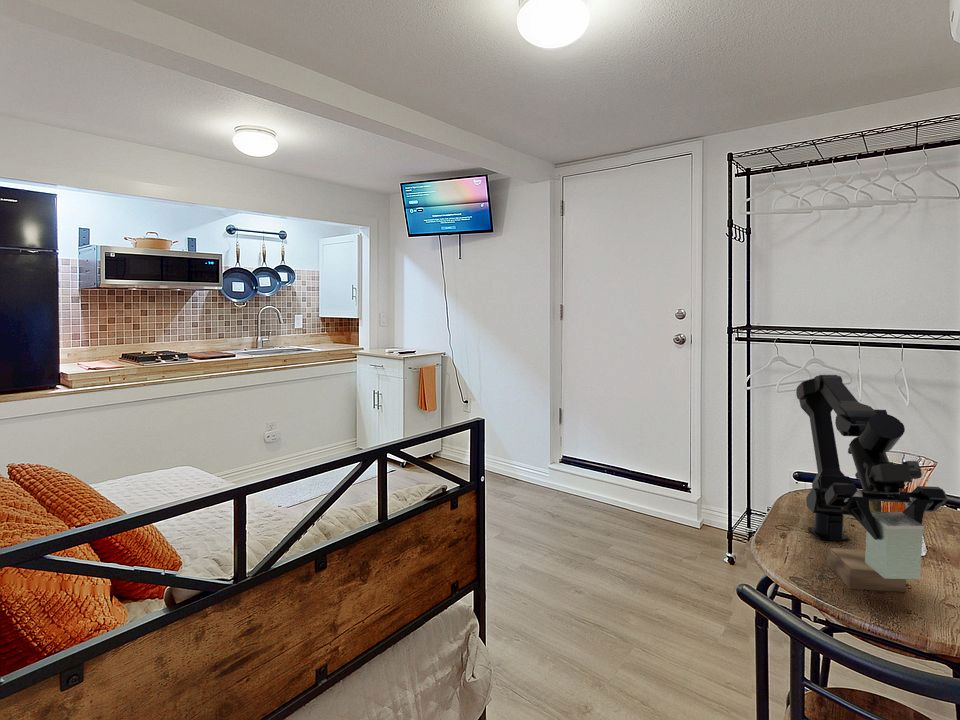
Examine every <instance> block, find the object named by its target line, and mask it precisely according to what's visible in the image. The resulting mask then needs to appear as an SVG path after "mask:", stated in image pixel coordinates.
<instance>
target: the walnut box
mask: <svg viewBox="0 0 960 720" xmlns="http://www.w3.org/2000/svg"><path fill="white" fill-rule="evenodd" d="M865 551H866V549H855V548H835V547H832V548H831V547H830V548H829V547H827V549H826V565H827V567H828V568H829V569H830V570H832V572H833V571H834V572H835V573H836V574H837V575H838V576H839V577H840V578H841V579H842V580H843V581H842V580H841V579H840V578H839V577H838V576H837V575H836V574H835V573H834V572H833V573H834V574H835V575H836V576H837V577H838V578H839V579H840V580H841V581H842V582H843V583H844V584H845V586H846V587H847V586H848V587H849V588H851V590H864V589H866V590H865V591H867V590H869V591H885V592H887V591H888V592H898V593H899V592H901V593H906V587H907V579H887V578H883V577H882V576H881V575H880V574H879V573H877V572H876V571H875V570H874V569H872V568H871V567H870V566H869V565H868V564H866V563H865ZM848 587H847V588H848ZM849 588H848V589H849Z"/></svg>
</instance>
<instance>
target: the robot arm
mask: <svg viewBox="0 0 960 720" xmlns="http://www.w3.org/2000/svg"><path fill="white" fill-rule="evenodd" d="M795 393H796V394H795V395H796V397H797V400H798V401H799V405H800V408H801V409H802V410H803V412H804V413H805V414H806V415H807V416H808V418H809V424H810V429H811V435H812V441H813V450H814V456H815V462H816V468H817V469H816V470H817V474H816V475H815V477H814V479H813V481H812V483H811V487H812V488H811V489H810V491H809V492H808V495H806V497H805V502H806V507H807V508H808V509H809V511H810V512H811V513H812V514H814V526H808V527H807V529H808V531H810V532H811V533H812V534H813V535H815V537H817V538H818V539H819V540H820V541H843V542H844V541H850V538H849V537H848V536H847V535H845V534H844V533H843V532H844V530H843V529H844V516H845V515H846V516H852V517H853V518H854V519H855V520H857V522H858V523H859V524H860V525H861V526H862V527H863V528H864V529H865V530H866V531H868V532H869V534H870V535H871V536H872V537H873V538H874V539H875V540H878V539H879V534H878V530H877V527H876V525H875V522H874V519H873V517H872V514H871V511H870V508H869V501H884V502H887V503H903V504H904V506H905V509H904V510H903V511H902V513H903V514H905V515H907V516H908V517H910V518H912V519H913V520H915V521H917V522H918V523H920V524H922V525H923V519H924V518H923V517H924V514H925V512H927V513H930V512H936V511H937V510H939V508H941V507H942V506H944V504H945V503H947V502H948V501H949V498H948V496H947V493H946V491H945V490H944V489H943V488H941V487H939V486H924V485H923V486H922V485H921V486H920V485H918V486H916V487H915V488H914V489H913V490H912V491H911V492H906V491H900V489H902V490H903V489H904V488H905V487H906V483H913V480H918V479H921V478H922V476H923V474H922V473H923V472H922V469H921V466H920V465H919V464H920V463H918V461H917V460H905V461H902V464H901V463H900V464H899V463H894V462H893V461H892V462H890V460H889V458H888V455H887V452H890V451H891V450H892V449H893V447H895V445H896V444H897V442H898V441H899V440H900V439H901V438H902V437H903V435H904V434H905V429H906V428H905V425H904V423H903V422H901V420H900V419H898V418H897V417H895V416H893V415H892V414H889V413H888V411H887V410H886V409H874V408H873V407H871V406H870V405H867V404H864V403H861V402H859V401H858V400H857V399H856V397H855V396H854V395H853V393H852V392H851V391H850V390H849V389H848V387H847V386H846V385H845V384H844V383H843V378H842V376H841V375H837V374H819V375H816V376H814V377H813V378H811V379H807V380H804V381H801V383H799V384H798V385H797V387H796V391H795ZM832 411H833V412H834V413H835V414H836V416H835V420H834V421H835V427H836V428H835V429H836V430H837V431H838V432H839V433H840V435H841V436H842V437H855V438H853V439H852V440H851V441H850V443H849V444H848V446H849V447H848V449H847V453H848V454H849V455H851V456H852V459H853V463H854V467H855V469H856V473H855V474H854V475H855V479H856V480H859V482H860V485H861V488H857V485H856V484H854V483H852V479H851V477H850V476H848V475H845V474H844V473H843V472H842V471H841V466H840V461H839V455H838V449H837V443H836V437H835V431H834V425H833V420H832ZM862 489H863V490H862Z"/></svg>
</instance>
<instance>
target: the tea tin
mask: <svg viewBox="0 0 960 720" xmlns="http://www.w3.org/2000/svg"><path fill="white" fill-rule="evenodd" d="M871 514H872V517H873V519H874V522H875V525H876V527H877V530H878V534H879V539H878V540H875V539H874V538H873V537H872V536H871V535H870V534H869V532H868V531H867V530H866V532H865V533H866V534H865V550H866V551H865V563H866V564H868V565H869V566H870V567H871V568H872V569H874V570H875V571H876V572H877V573H879V574H880V575H881V576H882V577H883V578H887V579H906V580H921V568H922V567H921V566H922V555H923V554H922V553H923V551H922V550H923V537H924V535H923V534H924V530H925V525H923V523H922V524H920V523H918V522H917V521H915V520H913V519H912V518H910V517H908V516H907V515H905V514H903V511H900V512H899V511H895V512H894V511H893V512H892V511H891V512H871Z"/></svg>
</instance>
